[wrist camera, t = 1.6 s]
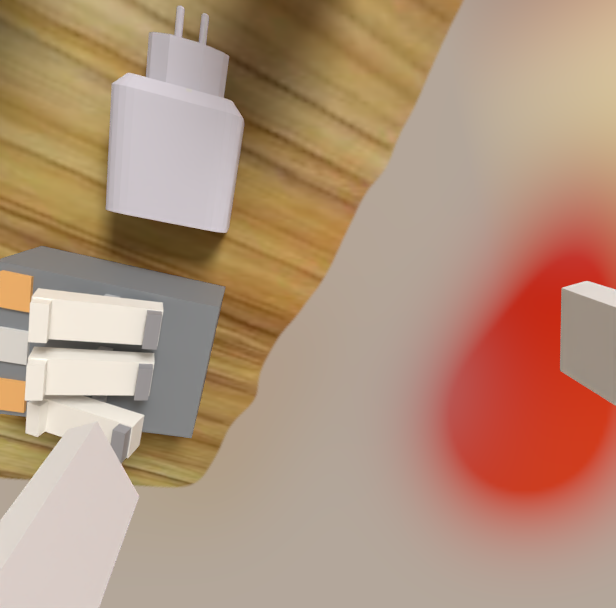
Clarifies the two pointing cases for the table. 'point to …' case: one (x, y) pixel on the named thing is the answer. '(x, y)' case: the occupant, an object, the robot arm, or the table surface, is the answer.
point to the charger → (175, 135)
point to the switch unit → (168, 357)
